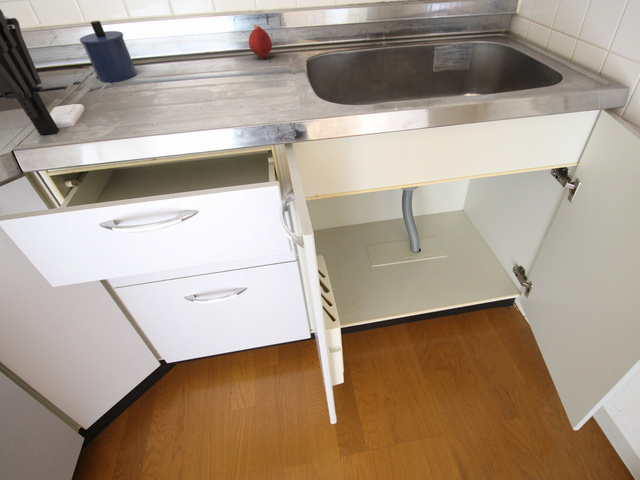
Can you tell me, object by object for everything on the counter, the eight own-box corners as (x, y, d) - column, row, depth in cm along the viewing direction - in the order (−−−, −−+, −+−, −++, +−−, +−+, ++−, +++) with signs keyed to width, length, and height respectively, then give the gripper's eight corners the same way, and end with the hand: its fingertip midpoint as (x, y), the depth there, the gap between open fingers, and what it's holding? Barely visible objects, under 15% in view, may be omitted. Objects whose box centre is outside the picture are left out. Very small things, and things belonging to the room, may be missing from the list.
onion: (267, 54, 108) (261, 20, 102) (278, 58, 104) (272, 24, 99) (248, 58, 105) (241, 24, 99) (259, 63, 102) (252, 28, 96)
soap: (61, 120, 79) (53, 105, 77) (90, 116, 80) (82, 102, 78) (47, 140, 73) (38, 124, 71) (78, 135, 74) (70, 120, 72)
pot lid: (75, 42, 93) (66, 23, 90) (114, 34, 98) (107, 15, 95) (90, 49, 88) (81, 28, 86) (131, 39, 93) (123, 20, 90)
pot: (93, 77, 99) (76, 40, 93) (127, 68, 103) (112, 31, 97) (108, 85, 94) (90, 46, 88) (142, 74, 99) (128, 37, 93)
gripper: (-49, -25, 50) (55, 147, 66) (5, -38, 59) (84, 115, 75) (-111, -21, 49) (9, 151, 66) (-47, -34, 59) (44, 119, 75)
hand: (49, 132), depth 70 cm, fingers closed
